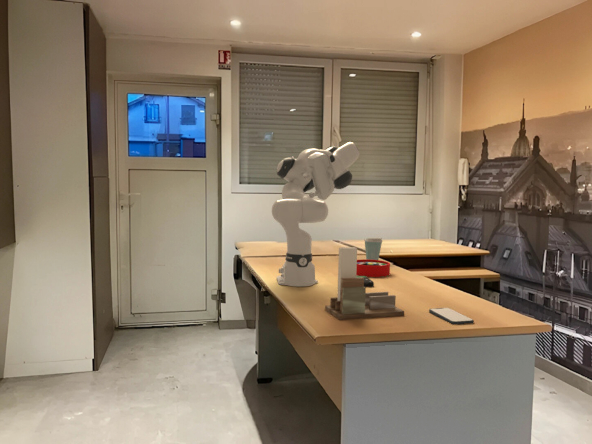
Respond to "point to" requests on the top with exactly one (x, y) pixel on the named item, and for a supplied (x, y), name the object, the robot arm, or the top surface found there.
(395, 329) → the top surface
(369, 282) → the disk drive
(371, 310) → the rack
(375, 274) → the toy clock
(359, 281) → the block
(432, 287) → the top surface
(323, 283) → the top surface
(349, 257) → the cream rectangular board
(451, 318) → the smartphone
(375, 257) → the disposable coffee cup
